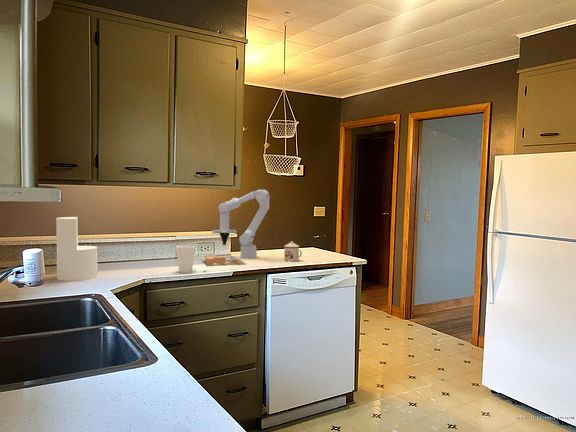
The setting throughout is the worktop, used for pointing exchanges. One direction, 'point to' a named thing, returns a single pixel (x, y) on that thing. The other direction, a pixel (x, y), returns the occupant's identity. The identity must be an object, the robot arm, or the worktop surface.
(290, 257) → the teacup with lid
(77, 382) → the worktop surface
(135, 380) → the worktop surface
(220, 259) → the t block
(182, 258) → the foam cup
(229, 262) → the board
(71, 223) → the cream l-shaped block
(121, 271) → the worktop surface
